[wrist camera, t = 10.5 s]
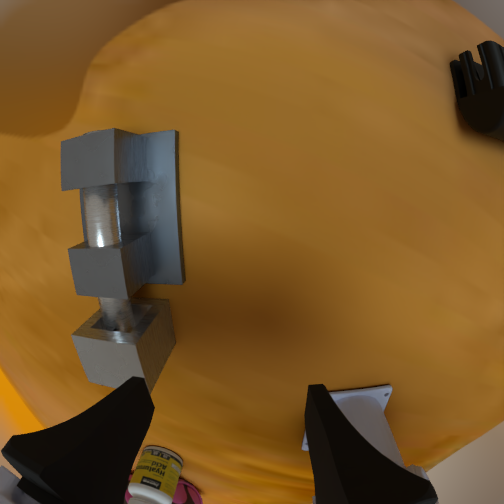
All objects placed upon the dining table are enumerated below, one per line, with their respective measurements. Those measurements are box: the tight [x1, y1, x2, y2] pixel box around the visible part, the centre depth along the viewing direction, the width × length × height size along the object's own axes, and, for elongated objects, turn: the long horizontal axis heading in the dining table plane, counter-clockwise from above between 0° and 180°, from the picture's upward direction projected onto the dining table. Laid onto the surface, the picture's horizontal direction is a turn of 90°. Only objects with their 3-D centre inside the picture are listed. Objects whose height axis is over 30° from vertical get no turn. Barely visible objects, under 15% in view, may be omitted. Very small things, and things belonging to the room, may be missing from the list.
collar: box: [71, 297, 176, 394], centre depth 18 cm, size 4×5×6 cm
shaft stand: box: [61, 128, 185, 333], centre depth 17 cm, size 16×8×5 cm, turn 1°
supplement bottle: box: [128, 446, 183, 504], centre depth 22 cm, size 5×5×10 cm
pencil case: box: [124, 474, 203, 504], centre depth 25 cm, size 21×10×10 cm, turn 113°
